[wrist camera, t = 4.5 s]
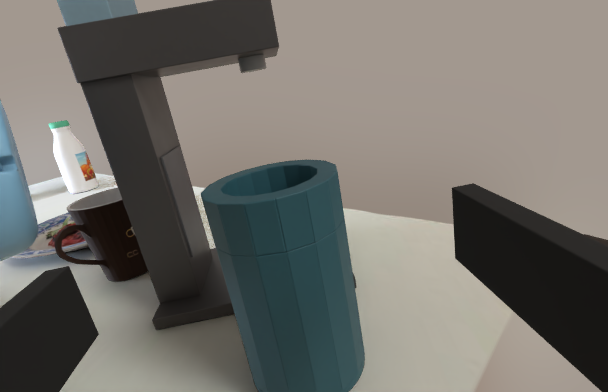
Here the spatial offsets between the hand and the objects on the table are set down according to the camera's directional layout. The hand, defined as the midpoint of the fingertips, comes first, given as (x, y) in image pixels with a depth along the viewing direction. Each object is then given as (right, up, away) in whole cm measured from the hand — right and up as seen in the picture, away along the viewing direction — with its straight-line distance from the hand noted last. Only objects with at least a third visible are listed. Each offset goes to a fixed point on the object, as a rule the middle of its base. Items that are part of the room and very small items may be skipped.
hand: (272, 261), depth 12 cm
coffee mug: (-22, -8, +33) cm, 40 cm away
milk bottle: (-63, +4, +90) cm, 110 cm away
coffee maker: (-4, -6, +27) cm, 28 cm away
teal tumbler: (+1, -10, +14) cm, 17 cm away
